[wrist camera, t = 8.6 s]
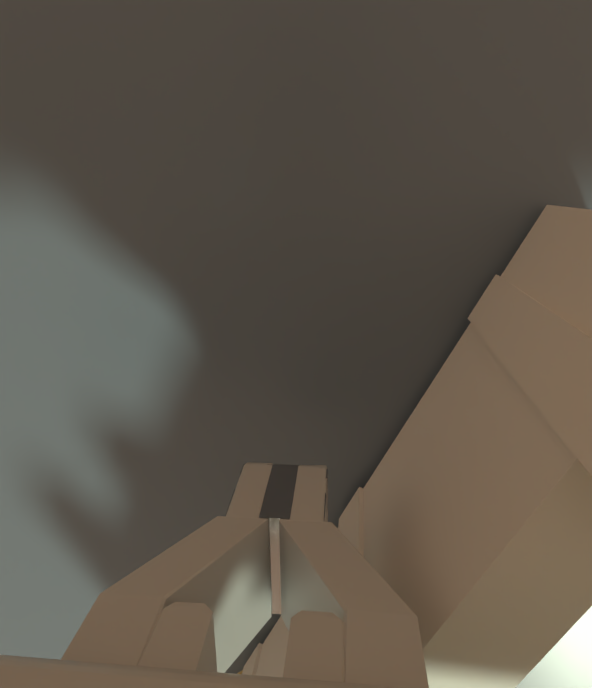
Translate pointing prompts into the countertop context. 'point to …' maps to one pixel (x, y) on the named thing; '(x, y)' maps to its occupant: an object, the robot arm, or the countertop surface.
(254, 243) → the card
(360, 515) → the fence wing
